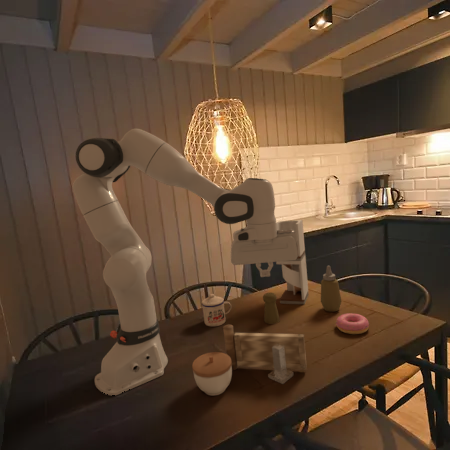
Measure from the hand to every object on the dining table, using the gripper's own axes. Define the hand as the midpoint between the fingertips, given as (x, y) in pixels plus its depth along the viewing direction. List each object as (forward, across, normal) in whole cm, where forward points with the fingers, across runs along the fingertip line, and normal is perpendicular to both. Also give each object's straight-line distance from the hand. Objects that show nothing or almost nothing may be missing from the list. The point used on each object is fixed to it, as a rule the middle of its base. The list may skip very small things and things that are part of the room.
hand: (265, 276), depth 99 cm
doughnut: (+25, -30, -11) cm, 41 cm away
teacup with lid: (+26, +17, -29) cm, 43 cm away
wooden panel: (+25, +1, +8) cm, 26 cm away
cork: (+26, -4, -24) cm, 36 cm away
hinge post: (+26, +12, +5) cm, 29 cm away
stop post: (+26, -1, +12) cm, 28 cm away
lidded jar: (+26, +18, +14) cm, 35 cm away
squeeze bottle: (+25, -29, -29) cm, 48 cm away
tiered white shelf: (+26, -17, -44) cm, 54 cm away
